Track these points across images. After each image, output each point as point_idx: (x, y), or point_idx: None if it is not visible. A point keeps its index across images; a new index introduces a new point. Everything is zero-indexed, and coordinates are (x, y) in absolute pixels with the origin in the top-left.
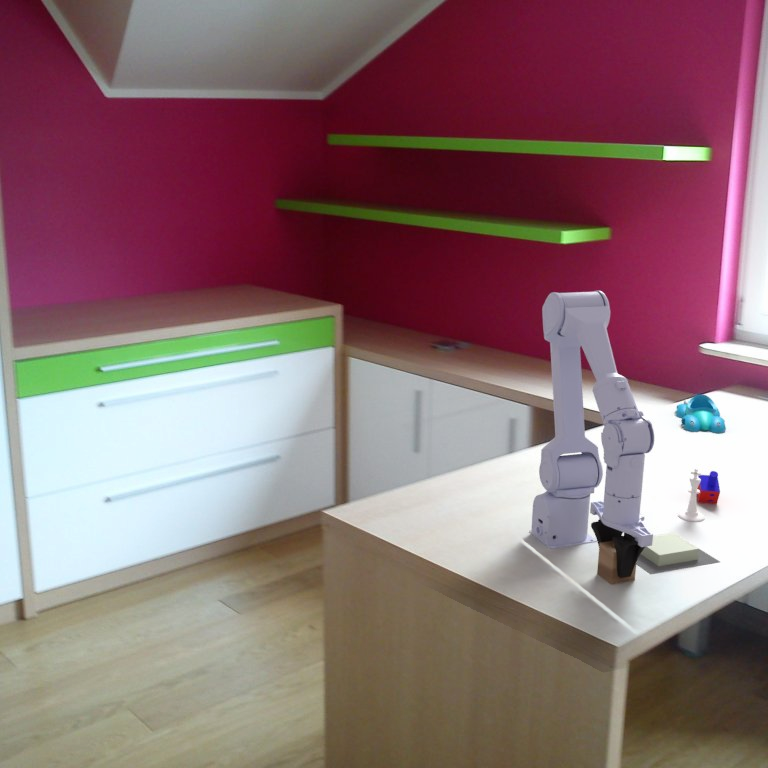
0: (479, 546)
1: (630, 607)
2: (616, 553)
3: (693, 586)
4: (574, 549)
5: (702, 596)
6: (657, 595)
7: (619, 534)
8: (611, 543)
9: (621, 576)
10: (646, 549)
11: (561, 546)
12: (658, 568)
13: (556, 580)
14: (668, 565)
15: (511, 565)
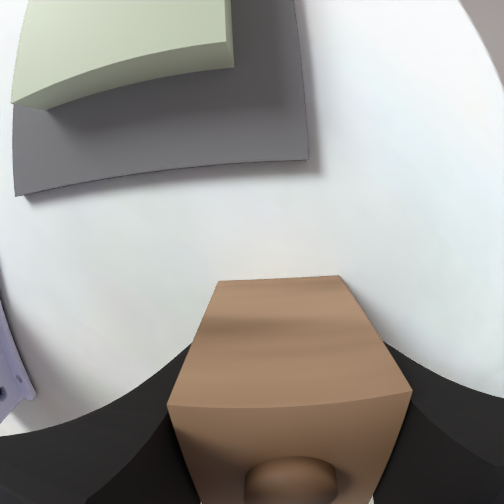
0: None
1: (465, 374)
2: (374, 498)
3: (432, 46)
4: (19, 328)
5: (498, 84)
6: (459, 243)
7: (152, 462)
8: (240, 494)
9: None
10: (102, 73)
11: (20, 370)
12: (259, 81)
13: None
14: (240, 19)
15: None
